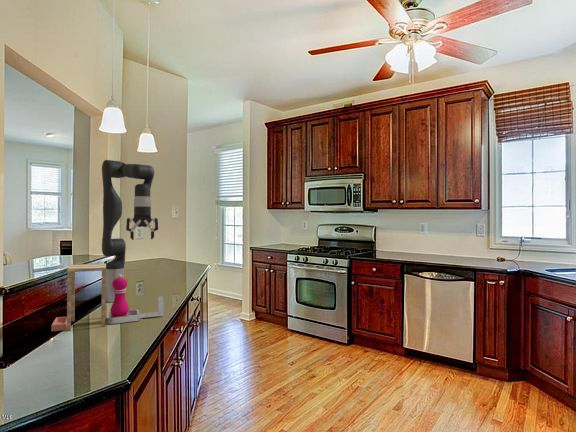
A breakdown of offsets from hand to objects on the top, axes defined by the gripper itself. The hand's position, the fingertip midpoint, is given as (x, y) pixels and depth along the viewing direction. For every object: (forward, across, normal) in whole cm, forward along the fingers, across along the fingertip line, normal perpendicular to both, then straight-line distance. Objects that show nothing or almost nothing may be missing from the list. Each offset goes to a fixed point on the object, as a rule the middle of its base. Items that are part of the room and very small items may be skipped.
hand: (142, 239), depth 173 cm
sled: (+34, +3, +14) cm, 37 cm away
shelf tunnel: (+34, +22, +14) cm, 43 cm away
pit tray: (+34, +32, +14) cm, 48 cm away
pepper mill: (+34, +10, +14) cm, 38 cm away
